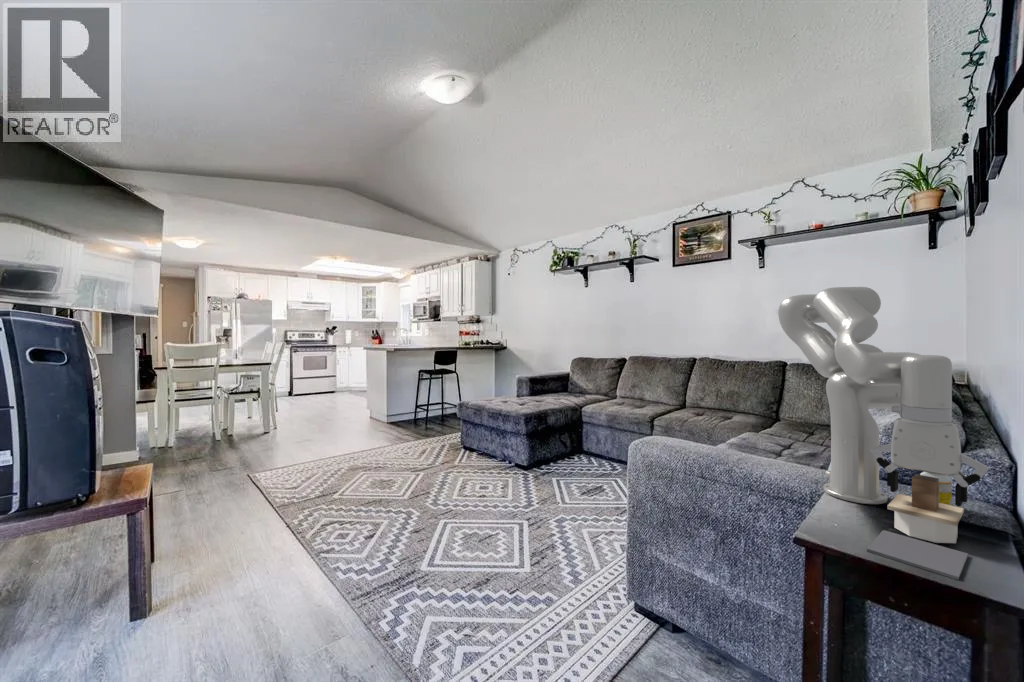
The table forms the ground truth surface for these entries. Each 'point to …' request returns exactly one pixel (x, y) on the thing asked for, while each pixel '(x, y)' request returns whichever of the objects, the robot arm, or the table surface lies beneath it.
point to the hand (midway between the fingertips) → (925, 497)
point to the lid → (926, 502)
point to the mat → (919, 554)
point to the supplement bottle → (942, 487)
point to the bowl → (925, 528)
